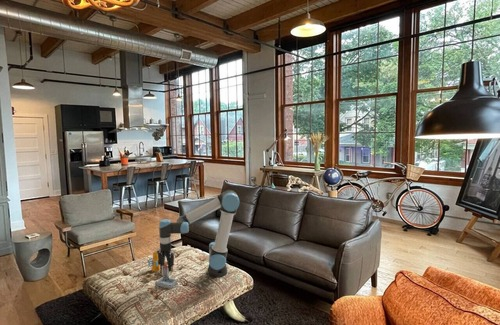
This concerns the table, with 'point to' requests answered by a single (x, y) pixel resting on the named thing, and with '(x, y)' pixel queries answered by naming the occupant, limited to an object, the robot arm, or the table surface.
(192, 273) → the table surface
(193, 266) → the table surface
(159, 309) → the table surface
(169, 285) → the tray
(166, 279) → the pin
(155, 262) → the cylinder
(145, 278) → the socket block
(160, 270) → the block
